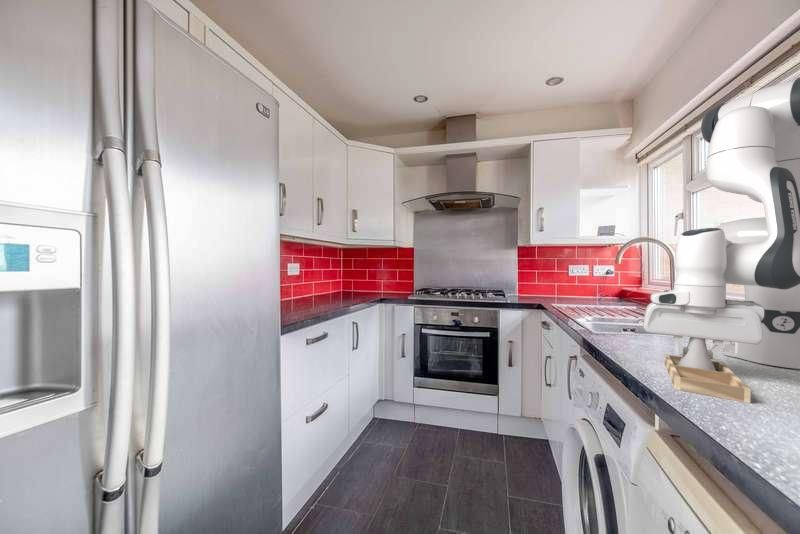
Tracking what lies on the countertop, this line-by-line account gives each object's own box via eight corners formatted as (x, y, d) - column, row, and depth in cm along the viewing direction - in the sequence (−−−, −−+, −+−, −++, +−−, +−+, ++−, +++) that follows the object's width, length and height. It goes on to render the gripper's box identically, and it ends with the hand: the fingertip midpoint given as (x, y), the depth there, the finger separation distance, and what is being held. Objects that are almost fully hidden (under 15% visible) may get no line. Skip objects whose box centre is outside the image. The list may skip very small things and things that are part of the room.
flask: (727, 381, 70) (728, 336, 70) (689, 378, 71) (690, 334, 71) (703, 370, 77) (704, 329, 77) (668, 368, 78) (670, 327, 78)
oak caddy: (664, 364, 82) (664, 354, 82) (722, 372, 76) (722, 362, 75) (675, 389, 65) (675, 377, 65) (750, 403, 59) (750, 389, 59)
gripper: (759, 300, 71) (757, 362, 71) (643, 293, 82) (642, 346, 83) (770, 303, 65) (767, 369, 66) (644, 295, 77) (643, 352, 77)
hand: (696, 356), depth 74 cm, fingers closed on flask, 3 cm apart
